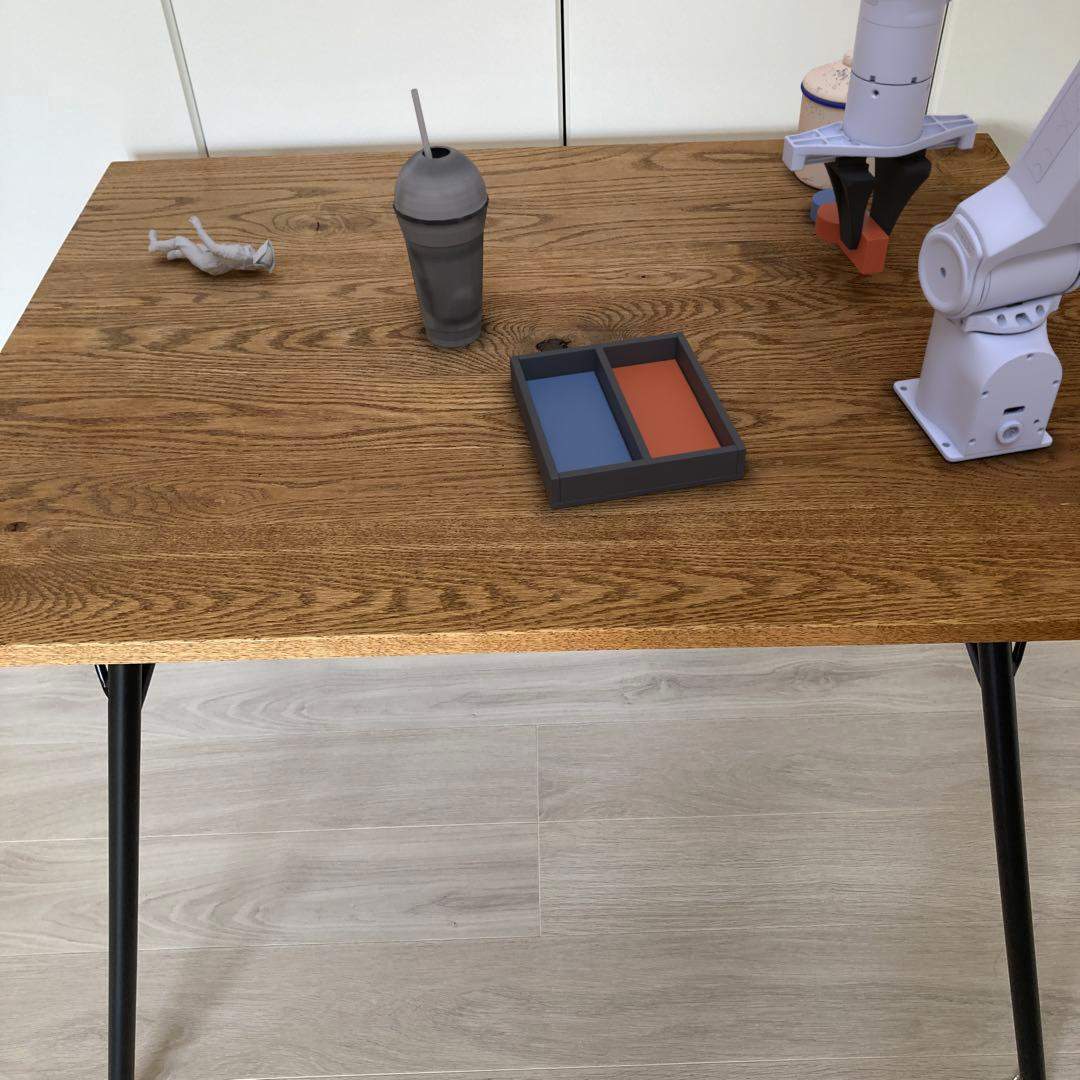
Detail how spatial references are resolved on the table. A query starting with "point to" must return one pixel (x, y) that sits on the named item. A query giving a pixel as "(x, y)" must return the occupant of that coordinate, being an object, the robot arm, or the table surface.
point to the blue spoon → (822, 201)
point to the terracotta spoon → (870, 246)
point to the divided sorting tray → (624, 420)
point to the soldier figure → (214, 252)
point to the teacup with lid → (824, 111)
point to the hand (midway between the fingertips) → (862, 241)
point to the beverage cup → (444, 237)
